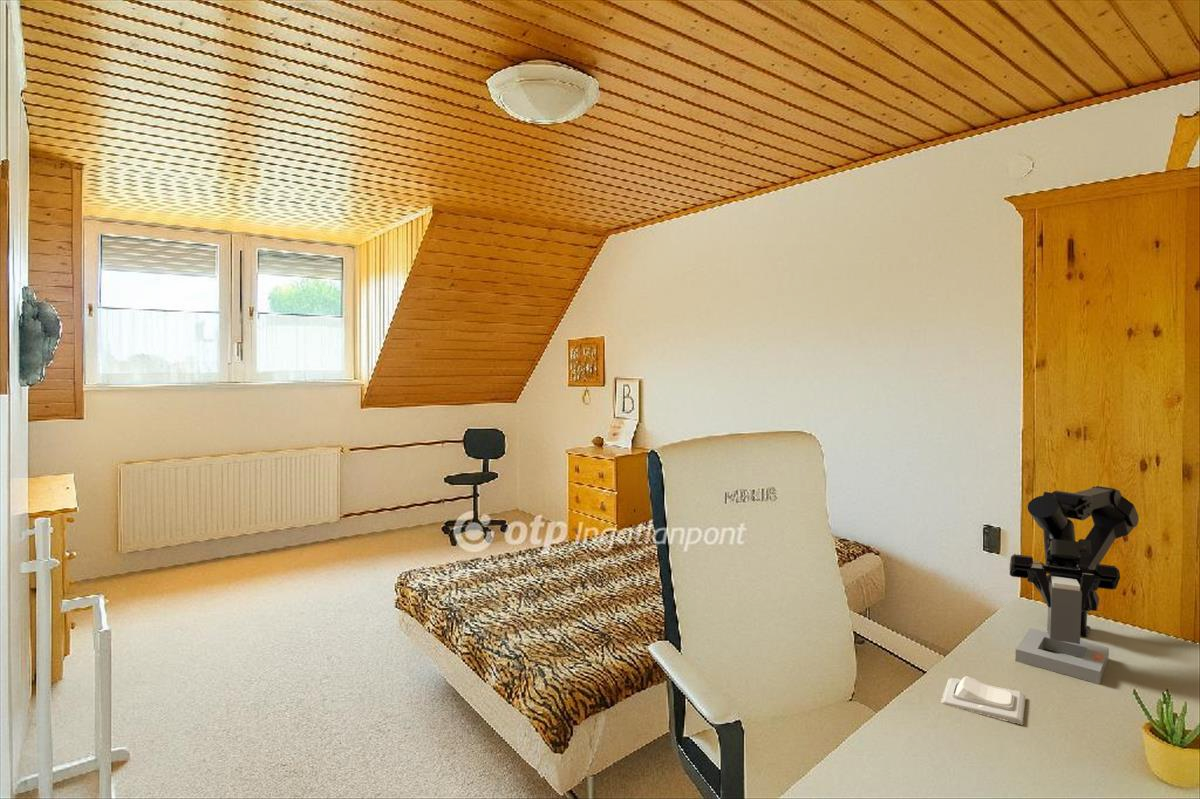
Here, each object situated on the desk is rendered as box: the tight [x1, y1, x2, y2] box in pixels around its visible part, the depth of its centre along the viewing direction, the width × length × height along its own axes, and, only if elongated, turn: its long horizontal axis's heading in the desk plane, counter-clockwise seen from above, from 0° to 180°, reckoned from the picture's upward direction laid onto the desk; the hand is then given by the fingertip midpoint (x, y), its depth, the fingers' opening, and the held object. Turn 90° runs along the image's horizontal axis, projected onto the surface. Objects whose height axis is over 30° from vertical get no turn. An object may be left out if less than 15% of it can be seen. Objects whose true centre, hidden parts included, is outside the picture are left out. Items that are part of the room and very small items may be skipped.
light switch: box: [940, 675, 1026, 726], centre depth 118 cm, size 11×4×13 cm
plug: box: [1046, 576, 1082, 644], centre depth 133 cm, size 5×5×12 cm
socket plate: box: [1014, 627, 1110, 685], centre depth 133 cm, size 14×14×3 cm
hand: (1065, 608), depth 131 cm, fingers closed on plug, 5 cm apart
